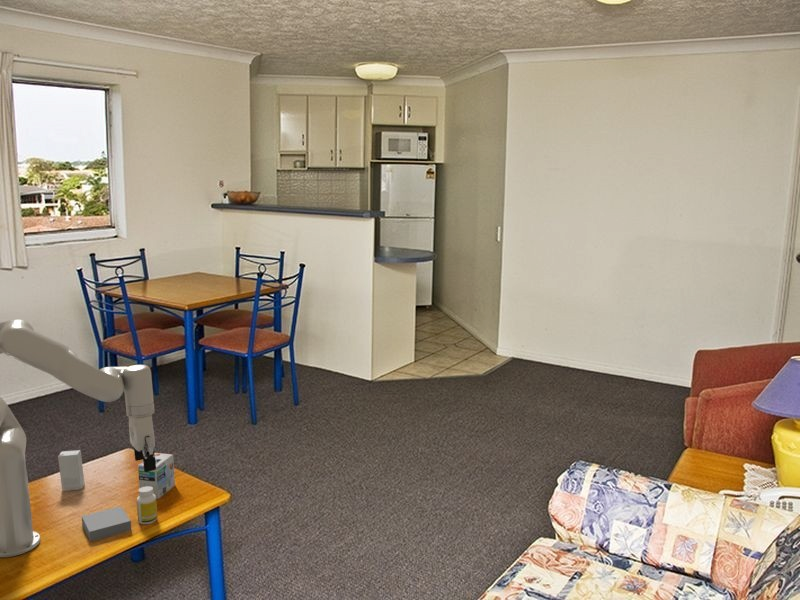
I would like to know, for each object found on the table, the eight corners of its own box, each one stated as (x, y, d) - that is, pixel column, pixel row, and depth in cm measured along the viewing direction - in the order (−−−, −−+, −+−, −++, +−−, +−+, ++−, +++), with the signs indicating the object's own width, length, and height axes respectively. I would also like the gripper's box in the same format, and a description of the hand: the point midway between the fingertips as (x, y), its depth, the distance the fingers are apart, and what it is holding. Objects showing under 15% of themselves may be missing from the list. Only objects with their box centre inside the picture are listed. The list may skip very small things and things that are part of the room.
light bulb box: (158, 499, 221) (156, 467, 219) (139, 497, 223) (136, 465, 221) (176, 484, 232) (174, 453, 230) (157, 483, 233) (155, 452, 231)
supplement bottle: (161, 519, 209) (159, 487, 207) (146, 526, 204) (143, 494, 203) (149, 514, 212) (147, 483, 210) (134, 521, 207) (131, 490, 205)
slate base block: (90, 541, 196) (89, 531, 195) (82, 525, 205) (81, 516, 204) (131, 530, 202) (130, 520, 202) (122, 515, 211) (121, 505, 210)
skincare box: (85, 484, 232) (82, 449, 230) (81, 490, 228) (78, 454, 226) (65, 485, 231) (61, 450, 229) (60, 491, 227) (57, 455, 225)
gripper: (119, 403, 207) (124, 458, 210) (134, 419, 193) (140, 478, 196) (145, 398, 211) (150, 452, 214) (162, 414, 197) (167, 471, 200)
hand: (145, 464), depth 205 cm, fingers open, 9 cm apart
